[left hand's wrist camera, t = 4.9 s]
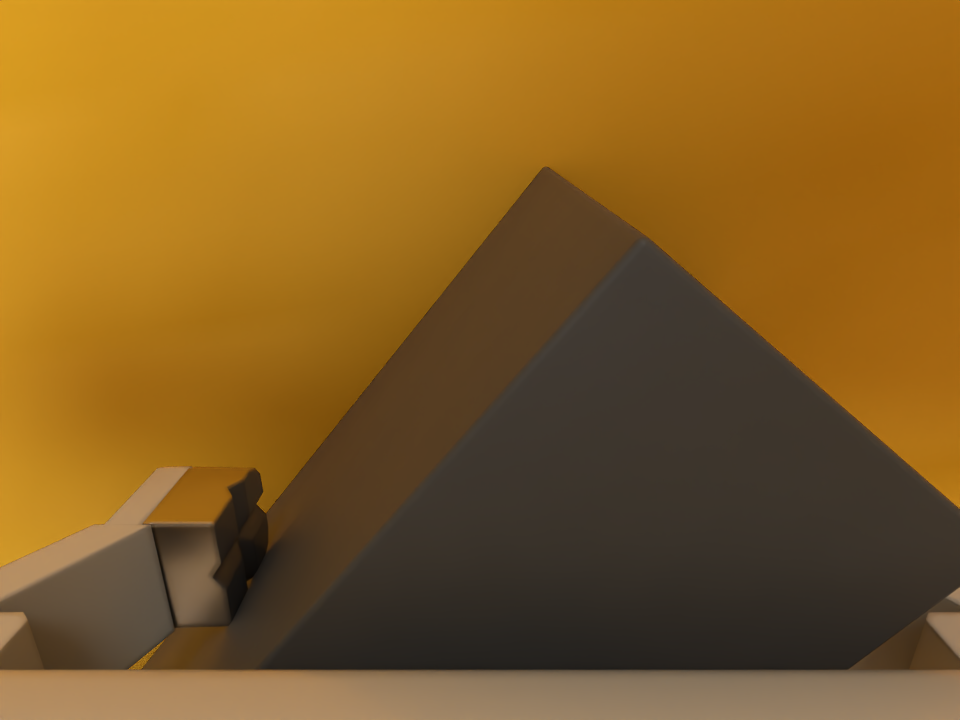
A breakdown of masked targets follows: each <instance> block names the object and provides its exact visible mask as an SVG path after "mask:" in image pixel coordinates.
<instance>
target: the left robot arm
mask: <svg viewBox="0 0 960 720" xmlns="http://www.w3.org/2000/svg"><path fill="white" fill-rule="evenodd" d="M262 493H263V488H262V483H261V477H260V473H259V472H258V471H257V470H256V469H255V468H229V467H191V466H183V467H162V468H157V469H156V470H155V471H154V472H153V473H152V474H151V475H150V477H149V478H148V479H147V480H146V481H145V482H144V483H143V484H142V485H141V486H140V487H139V488H138V489H137V490H136V491H135V493H134V494H133V495H132V496H131V497H130V498H129V499H128V500H127V501H126V502H125V503H124V504H123V505H122V506H121V507H120V508H119V510H118V511H117V512H116V513H115V514H114V515H113V516H112V517H111V518H110V519H109V520H108V521H107V522H106V523H105V524H104V525H92V526H90V527H88V528H86V529H83V530H81V531H79V532H77V533H75V534H72V535H70V536H68V537H66V538H64V539H61V540H59V541H57V542H55V543H53V544H50V545H48V546H46V547H44V548H42V549H40V550H37V551H35V552H33V553H31V554H29V555H26V556H24V557H22V558H20V559H18V560H15V561H13V562H11V563H9V564H7V565H4V566H2V567H0V720H960V588H958V589H957V590H955V591H954V592H953V593H951V594H950V595H949V596H947V597H946V598H945V599H943V600H942V601H941V602H939V603H938V604H936V605H935V606H934V607H932V608H931V609H930V610H928V611H927V612H926V613H924V614H923V615H921V616H920V617H919V618H917V619H916V620H915V621H913V622H912V623H911V624H909V625H908V626H907V627H905V628H904V629H902V630H901V631H900V632H898V633H897V634H896V635H894V636H893V637H892V638H890V639H889V640H888V641H886V642H885V643H883V644H882V645H881V646H879V647H878V648H877V649H875V650H874V651H873V652H871V653H870V654H868V655H867V656H866V657H864V658H863V659H862V660H860V661H859V662H858V663H856V664H855V665H854V666H852V667H851V668H849V669H848V670H127V669H129V668H130V667H131V666H132V665H134V664H135V663H136V662H137V661H138V660H140V659H141V658H142V657H143V656H145V655H146V654H147V653H148V652H149V651H151V650H152V649H153V648H154V647H156V646H157V645H158V644H159V643H161V642H162V641H163V640H164V639H165V638H167V637H168V636H169V635H170V634H172V633H173V632H174V631H175V628H188V627H223V626H229V625H230V624H231V622H232V621H233V619H234V617H235V615H236V613H237V611H238V609H239V607H240V605H241V603H242V601H243V599H244V597H245V595H246V593H247V591H248V586H247V581H248V580H250V579H251V578H253V576H254V575H255V573H256V572H257V570H258V569H259V566H260V564H261V562H262V560H263V558H264V556H265V554H266V552H267V547H268V521H267V515H266V514H265V513H264V512H263V511H262V510H261V509H260V508H259V506H258V505H257V504H256V503H257V502H258V500H259V498H260V496H261V495H262Z"/></svg>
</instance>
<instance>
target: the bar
mask: <svg viewBox="0 0 960 720" xmlns="http://www.w3.org/2000/svg"><path fill="white" fill-rule="evenodd" d="M266 515H267V521H268V547H267V552H266V554H265V556H264V558H263V560H262V562H261V564H260V566H259V569H258V570H257V572H256V573H255V575H254V576H253V578H251V579H250V580H248V581H247V586H248V591H247V593H246V595H245V597H244V599H243V601H242V603H241V605H240V607H239V609H238V611H237V613H236V615H235V617H234V619H233V621H232V622H231V624H230V625H229V626H223V627H188V628H175V631H174V632H173V633H172V634H170V635H169V636H168V637H167V638H166V639H165V641H164V642H163V643H162V644H161V646H160V647H159V648H158V649H157V651H156V652H155V653H154V654H153V656H152V657H151V658H150V659H149V661H148V662H147V663H146V664H145V666H144V667H143V668H142V669H141V670H848V669H849V668H851V667H852V666H854V665H855V664H856V663H858V662H859V661H860V660H862V659H863V658H864V657H866V656H867V655H868V654H870V653H871V652H873V651H874V650H875V649H877V648H878V647H879V646H881V645H882V644H883V643H885V642H886V641H888V640H889V639H890V638H892V637H893V636H894V635H896V634H897V633H898V632H900V631H901V630H902V629H904V628H905V627H907V626H908V625H909V624H911V623H912V622H913V621H915V620H916V619H917V618H919V617H920V616H921V615H923V614H924V613H926V612H927V611H928V610H930V609H931V608H932V607H934V606H935V605H936V604H938V603H939V602H941V601H942V600H943V599H945V598H946V597H947V596H949V595H950V594H951V593H953V592H954V591H955V590H957V589H958V588H960V509H959V508H958V507H957V506H956V505H954V504H953V503H952V502H951V501H950V500H949V499H947V498H946V497H945V496H944V495H943V494H942V493H941V492H939V491H938V490H937V489H936V488H935V487H934V486H933V485H931V484H930V483H929V482H928V481H927V480H926V479H925V478H923V477H922V476H921V475H920V474H919V473H918V472H917V471H915V470H914V469H913V468H912V467H911V466H910V465H908V464H907V463H906V462H905V461H904V460H903V459H902V458H900V457H899V456H898V455H897V454H896V453H895V452H894V451H892V450H891V449H890V448H889V447H888V446H887V445H886V444H884V443H883V442H882V441H881V440H880V439H879V438H877V437H876V436H875V435H874V434H873V433H872V432H871V431H869V430H868V429H867V428H866V427H865V426H864V425H863V424H861V423H860V422H859V421H858V420H857V419H856V418H855V417H853V416H852V415H851V414H850V413H849V412H848V411H847V410H845V409H844V408H843V407H842V406H841V405H840V404H838V403H837V402H836V401H835V400H834V399H833V398H832V397H830V396H829V395H828V394H827V393H826V392H825V391H824V390H822V389H821V388H820V387H819V386H818V385H817V384H816V383H814V382H813V381H812V380H811V379H810V378H809V377H807V376H806V375H805V374H804V373H803V372H802V371H801V370H799V369H798V368H797V367H796V366H795V365H794V364H793V363H791V362H790V361H789V360H788V359H787V358H786V357H785V356H783V355H782V354H781V353H780V352H779V351H778V350H777V349H775V348H774V347H773V346H772V345H771V344H770V343H768V342H767V341H766V340H765V339H764V338H763V337H762V336H760V335H759V334H758V333H757V332H756V331H755V330H754V329H752V328H751V327H750V326H749V325H748V324H747V323H746V322H744V321H743V320H742V319H741V318H740V317H739V316H737V315H736V314H735V313H734V312H733V311H732V310H731V309H729V308H728V307H727V306H726V305H725V304H724V303H723V302H721V301H720V300H719V299H718V298H717V297H716V296H715V295H713V294H712V293H711V292H710V291H709V290H708V289H706V288H705V287H704V286H703V285H702V284H701V283H700V282H698V281H697V280H696V279H695V278H694V277H693V276H692V275H690V274H689V273H688V272H687V271H686V270H685V269H684V268H682V267H681V266H680V265H679V264H678V263H677V262H676V261H674V260H673V259H672V258H671V257H670V256H669V255H667V254H666V253H665V252H664V251H663V250H662V249H661V248H659V247H658V246H657V245H656V244H655V243H654V242H653V241H651V240H650V239H649V238H648V237H646V236H645V235H643V234H642V233H641V232H639V231H638V230H636V229H635V228H634V227H632V226H631V225H629V224H628V223H626V222H625V221H624V220H622V219H621V218H619V217H618V216H616V215H615V214H614V213H612V212H611V211H609V210H608V209H607V208H605V207H604V206H602V205H601V204H599V203H598V202H597V201H595V200H594V199H592V198H591V197H589V196H588V195H587V194H585V193H584V192H582V191H581V190H580V189H578V188H577V187H575V186H574V185H572V184H571V183H570V182H568V181H567V180H565V179H564V178H563V177H561V176H560V175H558V174H557V173H555V172H554V171H553V170H551V169H550V168H548V167H544V168H542V170H541V171H540V172H539V173H538V175H537V176H536V177H535V178H534V180H533V181H532V182H531V183H530V185H529V186H528V187H527V188H526V190H525V191H524V192H523V193H522V195H521V196H520V197H519V198H518V200H517V201H516V202H515V203H514V205H513V206H512V207H511V208H510V210H509V211H508V212H507V213H506V215H505V216H504V217H503V218H502V220H501V221H500V222H499V223H498V225H497V226H496V227H495V228H494V230H493V231H492V232H491V233H490V235H489V236H488V237H487V238H486V240H485V241H484V242H483V243H482V245H481V246H480V247H479V248H478V250H477V251H476V252H475V253H474V255H473V256H472V257H471V258H470V260H469V261H468V262H467V263H466V265H465V266H464V267H463V268H462V270H461V271H460V272H459V273H458V275H457V276H456V277H455V278H454V280H453V281H452V282H451V283H450V285H449V286H448V287H447V288H446V290H445V291H444V292H443V293H442V295H441V296H440V297H439V298H438V300H437V301H436V302H435V303H434V305H433V306H432V307H431V308H430V310H429V311H428V312H427V313H426V315H425V316H424V317H423V318H422V320H421V321H420V322H419V323H418V325H417V326H416V327H415V328H414V330H413V331H412V332H411V333H410V335H409V336H408V337H407V338H406V340H405V341H404V342H403V343H402V345H401V346H400V347H399V348H398V350H397V351H396V352H395V353H394V355H393V356H392V357H391V358H390V360H389V361H388V362H387V363H386V365H385V366H384V367H383V368H382V370H381V371H380V372H379V373H378V375H377V376H376V377H375V378H374V380H373V381H372V382H371V383H370V385H369V386H368V387H367V388H366V390H365V391H364V392H363V393H362V395H361V396H360V397H359V398H358V400H357V401H356V402H355V403H354V405H353V406H352V407H351V408H350V410H349V411H348V412H347V413H346V415H345V416H344V417H343V418H342V420H341V421H340V422H339V423H338V425H337V426H336V427H335V428H334V430H333V431H332V432H331V433H330V435H329V436H328V437H327V438H326V440H325V441H324V442H323V443H322V445H321V446H320V447H319V448H318V450H317V451H316V452H315V453H314V455H313V456H312V457H311V458H310V460H309V461H308V462H307V463H306V465H305V466H304V467H303V468H302V470H301V471H300V472H299V473H298V475H297V476H296V477H295V478H294V479H293V481H292V482H291V483H290V484H289V486H288V487H287V488H286V489H285V491H284V492H283V493H282V494H281V496H280V497H279V498H278V499H277V501H276V502H275V503H274V504H273V506H272V507H271V508H270V509H269V511H268V512H267V513H266Z"/></svg>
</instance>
